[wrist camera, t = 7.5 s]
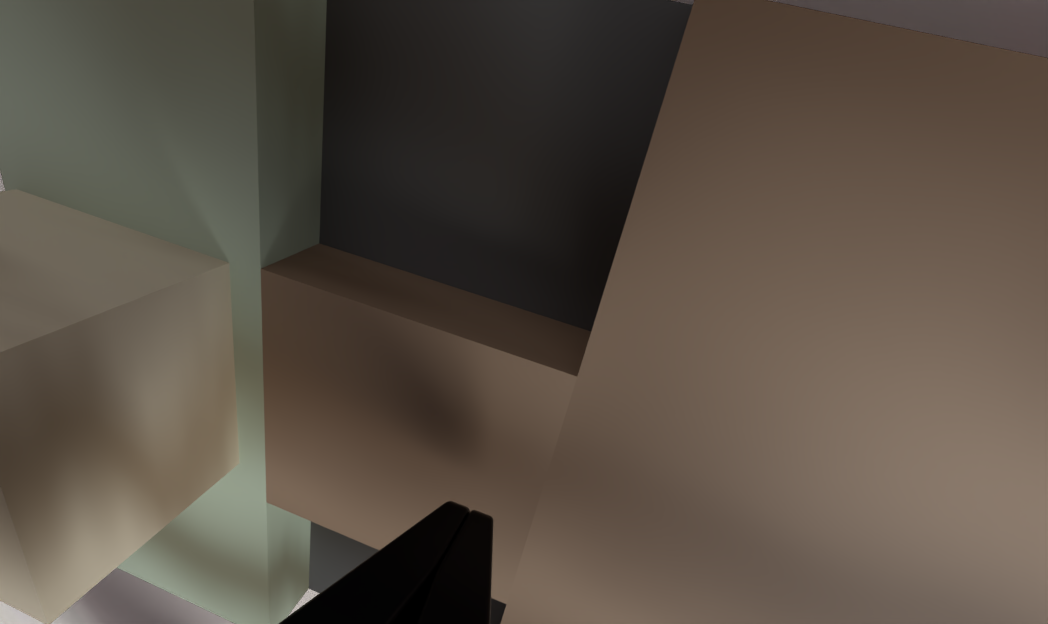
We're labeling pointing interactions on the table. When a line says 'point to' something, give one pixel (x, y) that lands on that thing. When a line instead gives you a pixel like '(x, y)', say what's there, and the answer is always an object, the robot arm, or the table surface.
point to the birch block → (103, 395)
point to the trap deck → (585, 293)
